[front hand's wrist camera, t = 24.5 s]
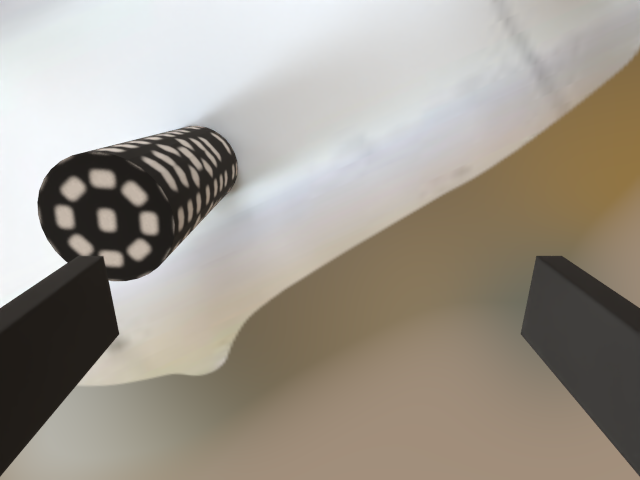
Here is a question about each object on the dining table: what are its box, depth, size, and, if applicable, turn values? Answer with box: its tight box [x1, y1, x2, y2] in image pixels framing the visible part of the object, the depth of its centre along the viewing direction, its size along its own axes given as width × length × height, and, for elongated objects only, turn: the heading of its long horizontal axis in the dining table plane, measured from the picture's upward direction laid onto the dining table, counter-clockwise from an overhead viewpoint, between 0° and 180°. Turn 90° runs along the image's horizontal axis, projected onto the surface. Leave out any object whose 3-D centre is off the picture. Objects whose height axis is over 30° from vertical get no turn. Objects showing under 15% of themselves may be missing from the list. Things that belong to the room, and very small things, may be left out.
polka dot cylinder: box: [38, 126, 237, 281], centre depth 34 cm, size 8×8×20 cm
